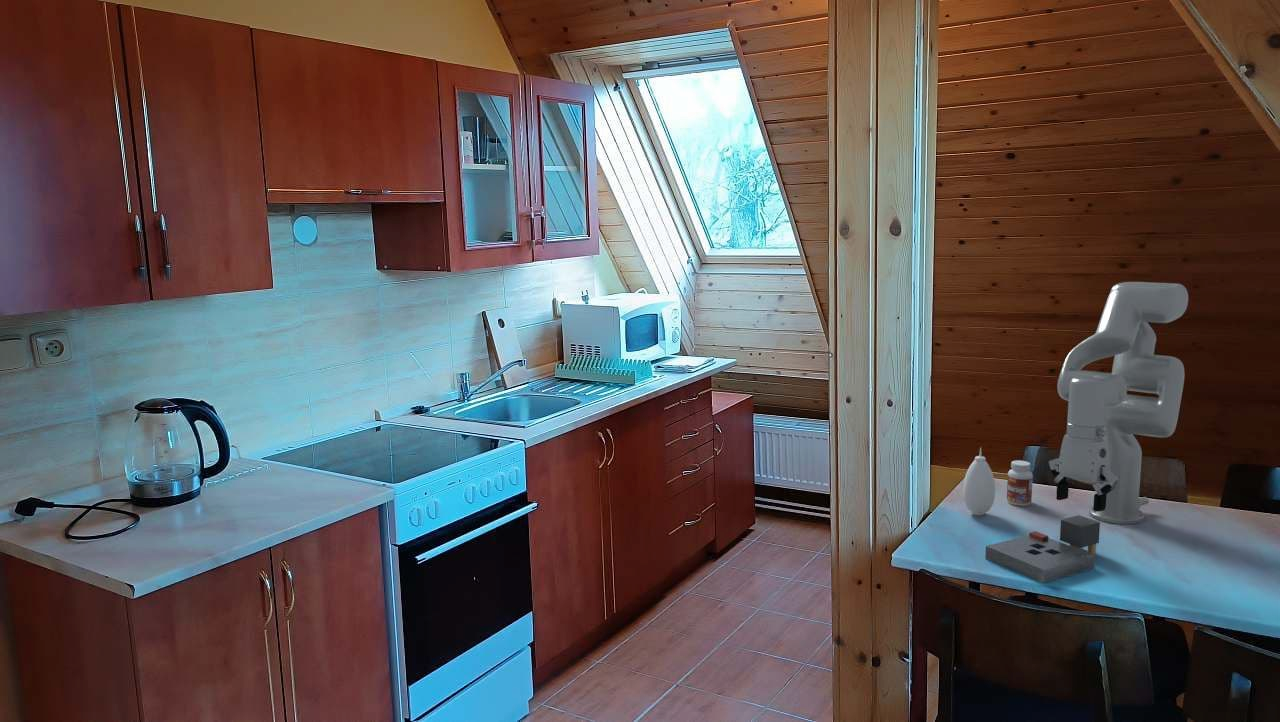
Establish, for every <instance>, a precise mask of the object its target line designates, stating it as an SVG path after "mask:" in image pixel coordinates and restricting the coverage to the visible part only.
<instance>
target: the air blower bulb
mask: <svg viewBox="0 0 1280 722" xmlns="http://www.w3.org/2000/svg"><path fill="white" fill-rule="evenodd" d="M995 483H996V482H995V479H994V474H993V471H992V469H991V467H990V465H989V464H988V462H987V460H986V457H985V456H983V455H982V446H981V447H979V455H977V456H975V457H974V459H973V461H972V463H970V465H969V467H968V469H967V471H966V473H965V476H964V481H963V486H962V495H963V500H964V504H965V506H966V508H967V510H969V511H970V513H971V514H973V515H975V516H978V517H979V516H982V515H985V514H986V513H988V512H990V509H991V508H992V507H993V505H994V502H995V498H996V484H995Z"/></svg>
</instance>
